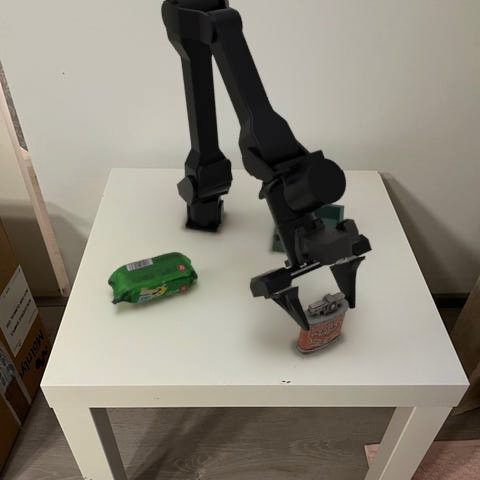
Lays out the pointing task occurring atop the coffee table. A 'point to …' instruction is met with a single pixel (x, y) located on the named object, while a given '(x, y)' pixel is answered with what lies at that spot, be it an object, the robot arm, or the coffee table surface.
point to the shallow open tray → (327, 214)
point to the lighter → (323, 323)
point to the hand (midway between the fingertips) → (330, 319)
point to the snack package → (152, 278)
